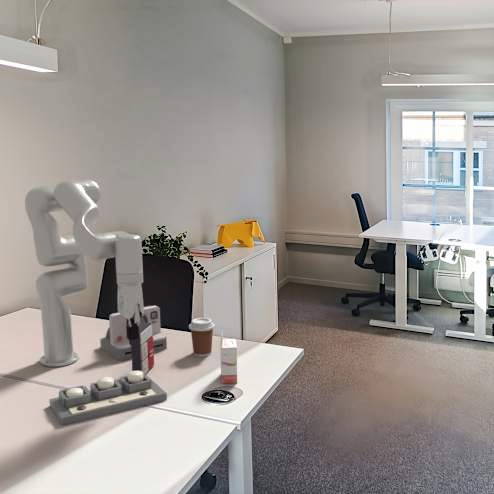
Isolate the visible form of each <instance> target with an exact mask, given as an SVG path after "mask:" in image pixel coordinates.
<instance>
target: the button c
mask: <svg viewBox="0 0 494 494" xmlns="http://www.w3.org/2000/svg"><path fill="white" fill-rule="evenodd" d="M126 376H128V383H129V384H133V383H138V382H142V381H143V372H142V371H132V370H131V371H129V372H127V374H126Z"/></svg>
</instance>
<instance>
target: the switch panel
mask: <svg viewBox="0 0 494 494" xmlns="http://www.w3.org/2000/svg"><path fill="white" fill-rule="evenodd" d="M72 388H81V389H83V395H80V396H75V397H71V398H67V397H66V391H67V390H69V389H72ZM89 388H90V389H88V388H87V386H86V385H79V386H78V385H77V386H72V387H69V388H65V389H60V390H59V391H58V397H54V398H53V397H52V398H49V406H50V408H51V410H52V412H53V413H54V414H55V416H56V418H57V419H58V421H59V423H60V425H61V426H65V425H69V424H73V423H77V422H81V421H85V420H90V419H94V418H98V417H102V416H106V415H109V414H110V415H111V414H113V413H118V412H123V411H126V410H131V409H135V408H139V407H143V406H147V405H150V404H153V403H154V404H155V403H158V402H163V401H166V400H167V398H168V395H167V392H166V391H165V390H164V389H162V387H160V385H158V384H157V383H156V382H155V381H154V380H153V379H152V378H151V377H149V376H148V375H147V373H146V374H144V373H143V381H142V382H138V383H133V384H129V383H128V376H127V375H124V376H121V377H120V379H119V381H117V379H114V388H111V389H107V390H102V391H100V390H98V382H97V381H96V382H92V383H90V385H89Z"/></svg>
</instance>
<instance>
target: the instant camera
mask: <svg viewBox="0 0 494 494" xmlns="http://www.w3.org/2000/svg"><path fill="white" fill-rule="evenodd" d="M108 317H109V318H108V319H109V327H108V328H107V331H106V334H105V336H104V337H101V338H100V340H99V342H100V349H101V350H102V351H104V352H105V353H107V354H109V355H111V357H114V358H116V359H117V360H118V361H126V360H129V359H132V353H131V346H130V344H129V340H128V339H127V333H126V326H128V325H126V321H125V317H124V316H122V315H121V314H120V313H119V312H115V313H114V312H113V313H111V314H110V315H109V316H108ZM140 323H151V325H152V337H153V347H154V353H156V352H161V351H165V350H167V349H168V348H167V344H168V343H167V335H166V334H164V333H162V331H161V329H162V328H161V308H160V307H159V306H157V305H146V306H144V315H143V316H142V317H140ZM140 323H139V324H140Z"/></svg>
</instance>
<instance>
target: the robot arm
mask: <svg viewBox="0 0 494 494" xmlns="http://www.w3.org/2000/svg"><path fill="white" fill-rule="evenodd" d="M100 189H101V188H100V187H99V185H98V184H97V183H96V182H95V181H94V180H92V179H87V178H86V179H70V180H64V181H61V182H59V183H58V184H56V185H47V186H39V187H34V188H32V189H30V190H28V191H27V193H26V195H25V198H24V207H25V208H24V209H25V212H26V215H27V218H28V220H29V222H30V226H31V227H32V236H33V242H34V249H35V255H36V260H37V263H38V264H39V265H40V266H41V267H44V268H48V267H49V268H51V267H56V266H62V265H67V267H65V268H58V269H54V270H53V269H52V270H49V271H45V272H43V273H41V274H40V275H39V276H38V277H37V278H36V281H35V288H36V293H37V295H38V299H39V306H40V314H41V317H40V318H41V326H42V327H41V328H42V339H43V340H42V341H43V356H41V357H40V359H39V363H40V365H42V366H44V367H50V368H51V367H52V368H53V367H55V368H57V367H65V366H68V365H71V364H74V363H75V362H77V361H78V359H79V354H78V352H75V351H74V343H73V340H74V339H73V330H72V329H73V328H72V327H73V326H72V312H71V308H70V306H69V304H68V303H67V302H66V301H65V300H64V298H66V297H69V296H75V295H78V294H81V293H84V292H85V291H87V289H88V286H89V273H88V265H87V261H86V260H87V259H86V257H87V258H88V259H89V260H91V261H101V260H106V259H107V260H108V259H113V258H115V273H116V274H115V275H116V284H117V313H120V314H121V315H122V316H124V317H125V321H126V325H128V326H126V333H127V339H128V340H133V339H138V338H139V323H140V317H142V316H143V315H144V307H145V305H144V298H143V296H144V295H143V287H142V284H143V283H144V270H143V269H144V268H143V267H144V266H143V265H144V264H143V249H142V247H143V246H142V245H143V244H142V238H141V237H140V235H138V234H134V233H133V234H130V233H128V232H127V231H121V230H119V231H118V230H117V231H109V232H101V233H95V234H94V233H92V232H91V231H90V230H89V228H90V227H92V226H93V225H94V224H95V223H96V222H97V221H98V220H99V218H100V214H101V212H100V211H101V210H100V208H99V205H97V204H98V203H99V201H100V200H101V190H100ZM55 212H65V213H66V215H68V217H69V218H70V219H71V220H72V221H73V226H72V235H64V236H63V235H62V236H61V231H60V225H59V222H58V221H57V219H56V218H55V217H54V215H53V214H51V213H55Z"/></svg>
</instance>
